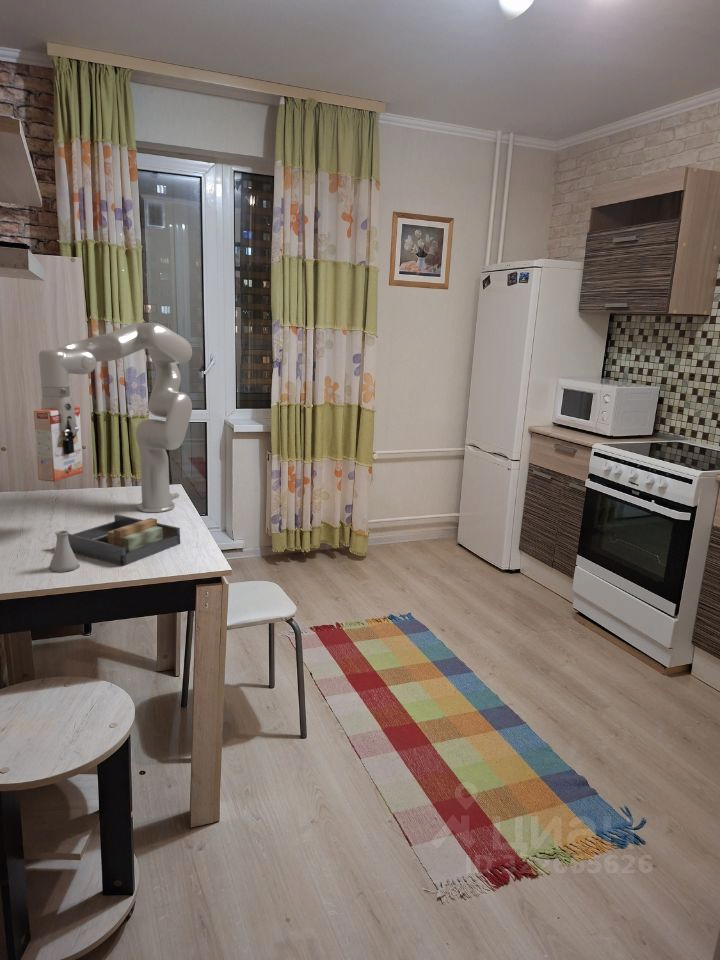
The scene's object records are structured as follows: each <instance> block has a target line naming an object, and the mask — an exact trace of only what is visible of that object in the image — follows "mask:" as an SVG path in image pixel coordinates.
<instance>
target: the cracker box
mask: <svg viewBox="0 0 720 960" xmlns="http://www.w3.org/2000/svg"><path fill="white" fill-rule="evenodd" d="M74 410H75V416H76V425H77V427H78V428H79V430H78V432H77V433H76V436H75V439H74V440H73V442H74V453H70V454H64V448H63V441H65V440H64V437H63V432H62V431H61V426H60V416H59V410H55V409H41V408H40V409H35V410H33V419H34V432H35V446H36V448H35V449H36V450H35V451H36V461H37V476H38V478H37V479H38V480H39V481H44V482H54V483H55V482H57V481H61V480H63V479H67V478H70V477H73V476H76V475H79V474H82V473H84V466H83V465H84V464H83V447H82V445H83V443H82V429H81V428H82V427H81V426H82V425H81V412H80V411H81V407H80V406H77V405H76V406H75V405H74ZM66 430H68V428H66ZM66 434H67V435H68V434H69V433H66Z"/></svg>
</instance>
